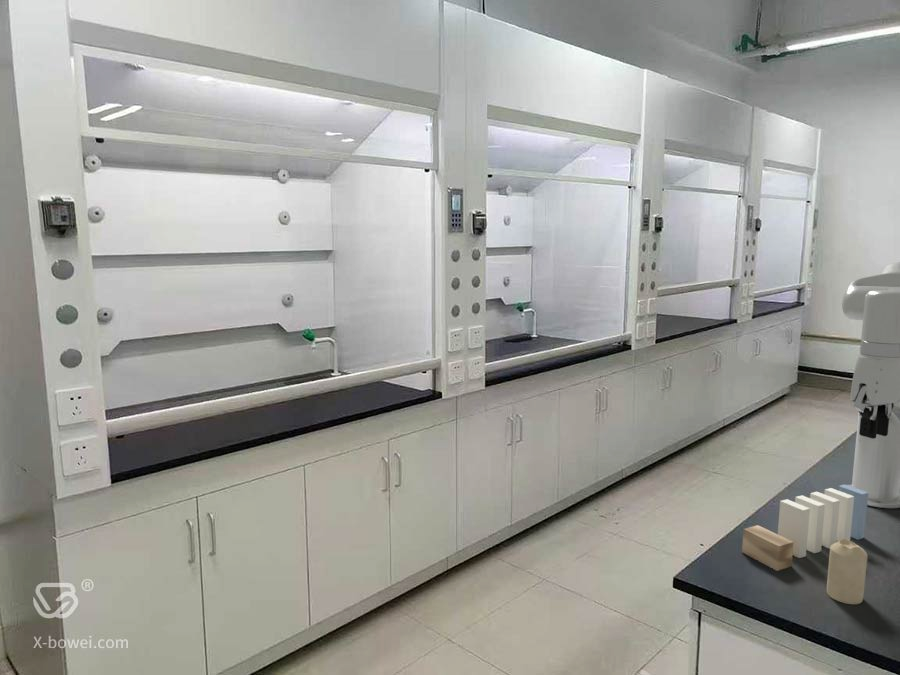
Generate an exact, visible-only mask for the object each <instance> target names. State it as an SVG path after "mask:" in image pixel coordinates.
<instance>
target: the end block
mask: <svg viewBox="0 0 900 675" xmlns="http://www.w3.org/2000/svg"><path fill="white" fill-rule="evenodd" d="M742 532H743V533H742V546H741V553H742V554H744V555H746V556H748V557H750V558H752V559H754V560H756V561H757V560H758V562H759V563H762V564H764V566H766V567H769V568H771V569H772V568H773V570H775V571H781V570H785V569H789V568H791V567H792V564H793V555H792V554H793V541H790V540H788V539H786V538H784V537H782V536H780V535H778V533H776V532H773V531H771V530H769V529H767V528H765V527H762V526H761V525H757V524H756V525H753V526H749V527H746V528H743V531H742Z"/></svg>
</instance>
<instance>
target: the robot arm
mask: <svg viewBox="0 0 900 675" xmlns="http://www.w3.org/2000/svg"><path fill="white" fill-rule="evenodd" d="M841 306H842V308H841V309H842V312H843V314H844V316H845V317H846V318H847V319H850V320H854V321H862V324H861V325H862V326H861V337H860V347H859V356H858V357H857V360H856V364H855V367H854V370H853V371H854V372H853V375H852V382H851V387H850V388H851V389H850V401H852V402H854V404H853V409H855V410H856V411H857V425H856V426H857V428H856V439H855V449H854V458H853V469H852V477H851V478H852V479H851V480H852V481H851V484H847V485H848V486H851V487H854V488H857V489H859V490H862V491H865V492H868V502H867V506H870V507H874V508H875V507H876V508H881V509H882V508H883V509H899V508H900V419H899V418H898V417H897V415H896V414H895V413H900V261H897V262H894V263H890V264H888V265H886V267H884V269H882V271H881V272H880V274H875V275H871V276H865V277H860V278H858V279H854V280H853V281H852V282H851V283H850V284H849V285H848V286H847V288H846V289H845V292H844V294H843V297H842V302H841Z"/></svg>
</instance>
